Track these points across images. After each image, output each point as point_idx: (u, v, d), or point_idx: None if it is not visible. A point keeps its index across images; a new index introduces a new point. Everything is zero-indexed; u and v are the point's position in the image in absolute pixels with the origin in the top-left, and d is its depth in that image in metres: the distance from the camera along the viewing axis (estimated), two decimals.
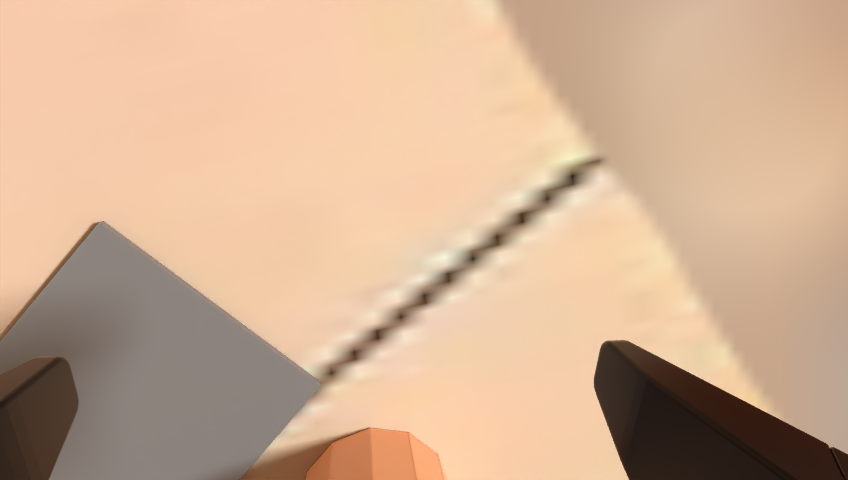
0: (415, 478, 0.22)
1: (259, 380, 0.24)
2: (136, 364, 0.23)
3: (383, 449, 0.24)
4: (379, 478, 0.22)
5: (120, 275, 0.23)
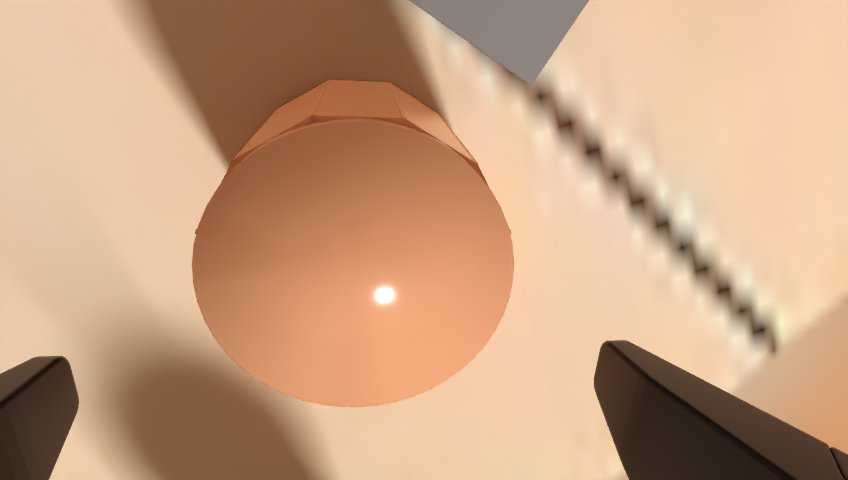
0: None
1: None
2: None
3: None
4: None
5: None
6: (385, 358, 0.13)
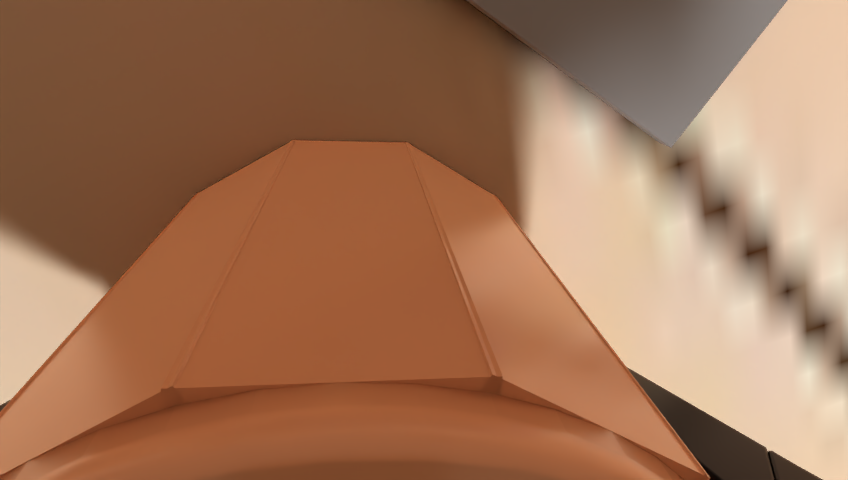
0: None
1: None
2: None
3: None
4: None
5: None
6: None
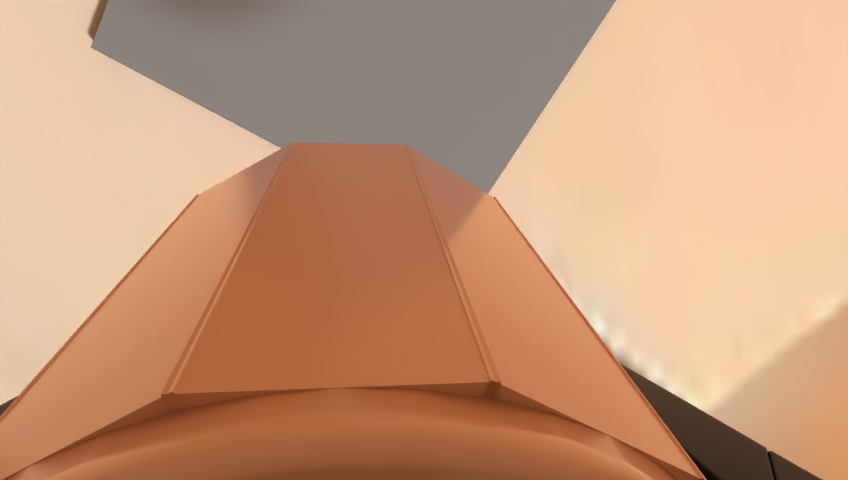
0: None
1: (457, 172, 0.20)
2: (465, 17, 0.18)
3: None
4: None
5: None
6: None
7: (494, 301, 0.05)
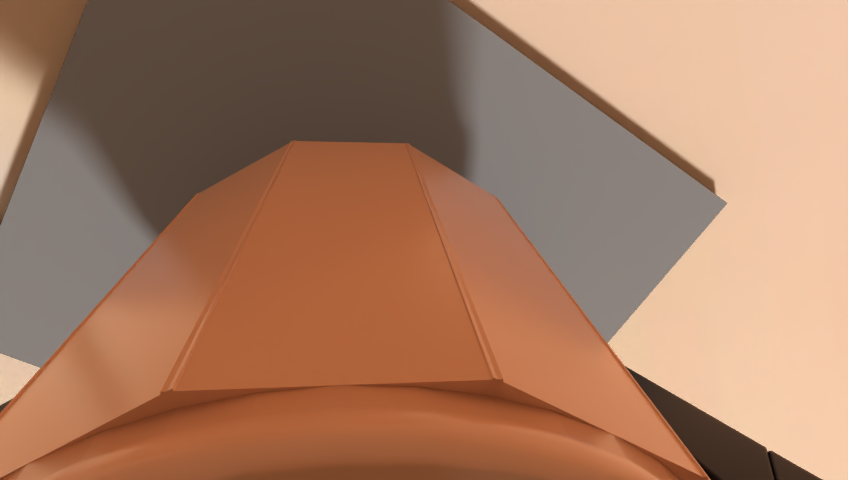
0: None
1: None
2: None
3: None
4: None
5: (634, 245, 0.13)
6: None
7: (496, 299, 0.05)
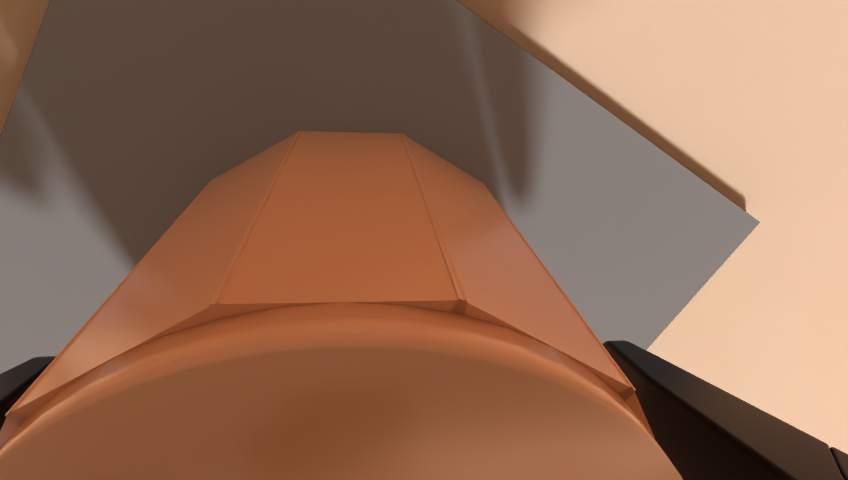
0: None
1: None
2: None
3: None
4: None
5: (658, 267, 0.12)
6: None
7: (469, 253, 0.06)
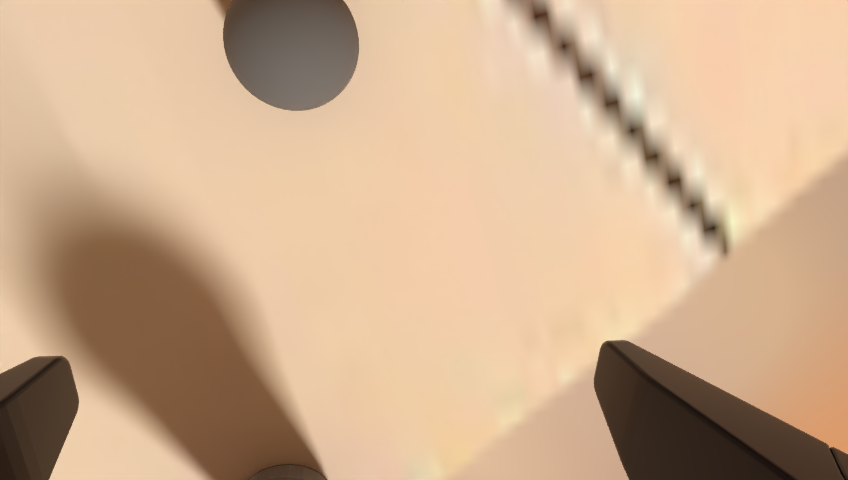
0: None
1: None
2: None
3: None
4: None
5: None
6: None
7: None
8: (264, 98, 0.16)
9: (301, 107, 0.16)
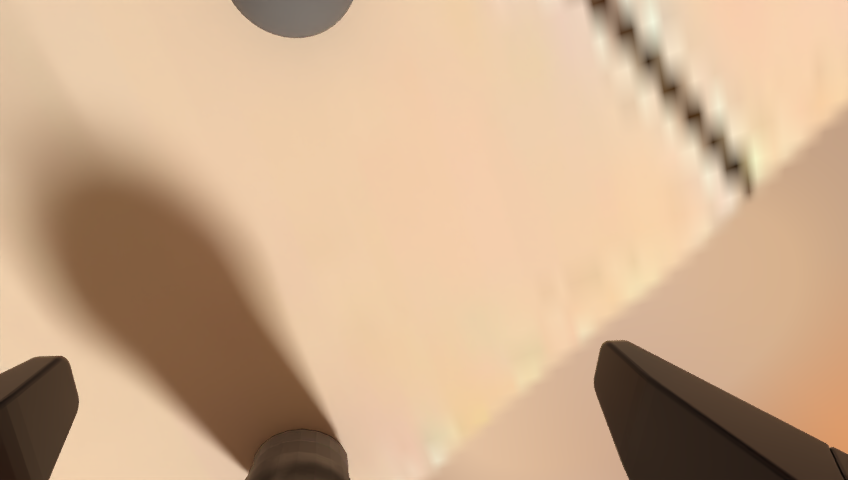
0: None
1: None
2: None
3: None
4: None
5: None
6: None
7: None
8: (261, 21, 0.15)
9: (301, 31, 0.15)
